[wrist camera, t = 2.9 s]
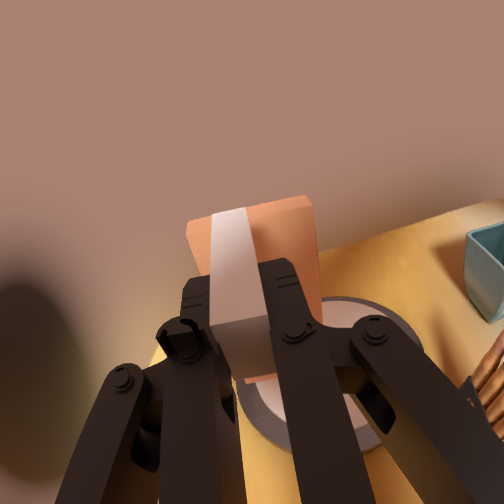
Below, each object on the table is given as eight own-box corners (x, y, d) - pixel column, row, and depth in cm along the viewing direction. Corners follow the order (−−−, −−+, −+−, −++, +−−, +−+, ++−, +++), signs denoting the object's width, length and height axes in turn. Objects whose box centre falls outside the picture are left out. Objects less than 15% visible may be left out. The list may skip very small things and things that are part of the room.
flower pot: (493, 275, 31) (509, 218, 26) (529, 316, 23) (555, 258, 18) (450, 292, 31) (464, 231, 26) (486, 342, 24) (514, 280, 19)
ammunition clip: (448, 401, 20) (498, 316, 14) (463, 395, 20) (514, 309, 14) (478, 495, 12) (564, 448, 5) (495, 486, 11) (580, 432, 5)
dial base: (458, 374, 22) (471, 351, 20) (298, 498, 17) (294, 493, 15) (347, 282, 37) (346, 257, 35) (212, 353, 32) (201, 330, 30)
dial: (374, 293, 33) (377, 148, 23) (432, 400, 20) (503, 233, 11) (241, 326, 33) (195, 184, 24) (256, 452, 20) (172, 320, 11)
